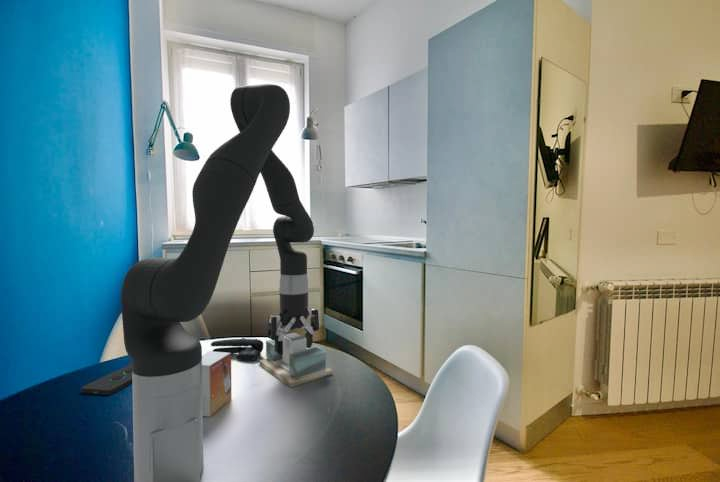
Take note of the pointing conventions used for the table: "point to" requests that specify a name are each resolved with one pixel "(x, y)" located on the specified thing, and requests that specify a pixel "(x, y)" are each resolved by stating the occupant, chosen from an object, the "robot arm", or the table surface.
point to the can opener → (241, 348)
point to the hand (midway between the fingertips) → (294, 350)
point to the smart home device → (110, 382)
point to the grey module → (292, 345)
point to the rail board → (287, 376)
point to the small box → (215, 381)
